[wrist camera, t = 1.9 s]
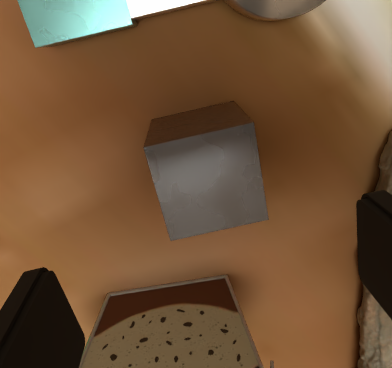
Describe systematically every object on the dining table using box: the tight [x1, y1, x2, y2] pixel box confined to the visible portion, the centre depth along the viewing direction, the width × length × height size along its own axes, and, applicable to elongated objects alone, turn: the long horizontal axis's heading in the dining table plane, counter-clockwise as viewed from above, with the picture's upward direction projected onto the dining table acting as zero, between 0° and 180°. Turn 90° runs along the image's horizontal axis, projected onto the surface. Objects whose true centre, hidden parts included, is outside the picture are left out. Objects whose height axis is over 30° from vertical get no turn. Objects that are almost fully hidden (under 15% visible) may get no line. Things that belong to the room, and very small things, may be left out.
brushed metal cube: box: [143, 101, 269, 241], centre depth 20 cm, size 5×5×6 cm
